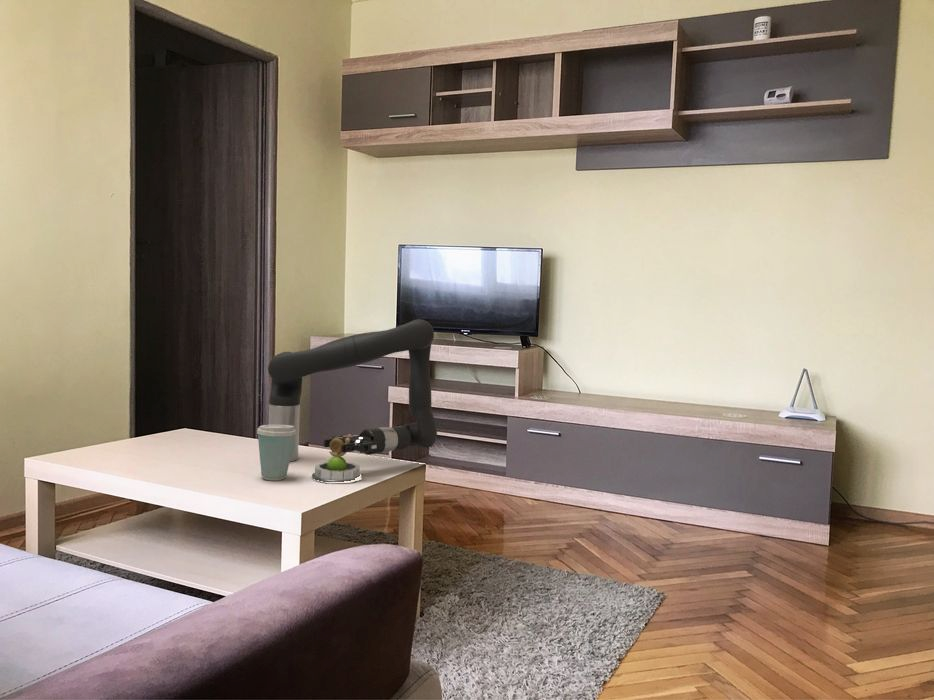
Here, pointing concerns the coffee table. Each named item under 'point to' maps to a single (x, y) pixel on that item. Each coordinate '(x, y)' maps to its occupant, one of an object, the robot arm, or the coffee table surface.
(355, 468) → the collar base
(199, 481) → the coffee table surface
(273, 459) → the disposable coffee cup
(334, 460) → the snail figurine
